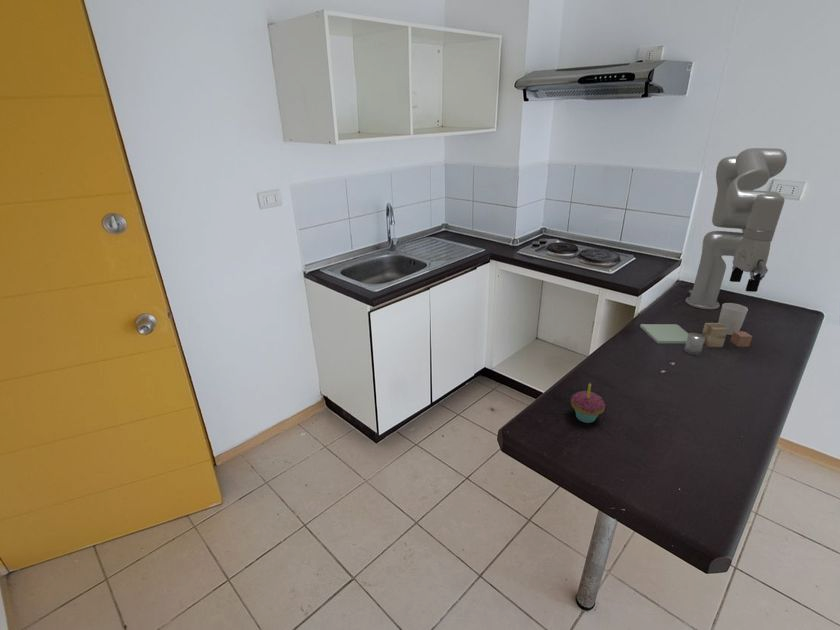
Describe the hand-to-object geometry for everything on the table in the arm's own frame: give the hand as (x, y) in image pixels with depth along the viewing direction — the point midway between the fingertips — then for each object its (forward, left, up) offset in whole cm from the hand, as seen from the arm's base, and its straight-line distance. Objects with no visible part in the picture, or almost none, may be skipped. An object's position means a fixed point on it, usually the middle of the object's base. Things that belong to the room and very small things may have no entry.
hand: (742, 286), depth 146 cm
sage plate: (-9, -15, -22) cm, 28 cm away
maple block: (-2, -3, -22) cm, 23 cm away
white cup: (-12, +9, -23) cm, 27 cm away
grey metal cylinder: (+4, -13, -22) cm, 26 cm away
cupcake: (+41, -62, -23) cm, 78 cm away
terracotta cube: (-2, +7, -22) cm, 24 cm away
